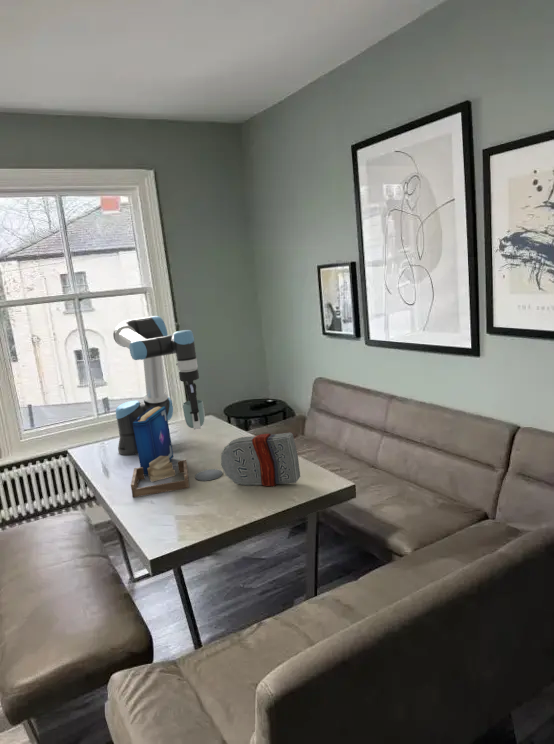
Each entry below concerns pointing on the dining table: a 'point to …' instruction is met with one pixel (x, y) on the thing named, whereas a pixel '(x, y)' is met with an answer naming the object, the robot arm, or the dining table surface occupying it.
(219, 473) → the mat
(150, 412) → the book
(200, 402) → the cup
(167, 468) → the offcut mid
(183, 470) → the wooden tray
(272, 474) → the decorative stone tablet
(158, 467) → the offcut top
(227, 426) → the dining table surface
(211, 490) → the dining table surface
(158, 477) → the offcut low
